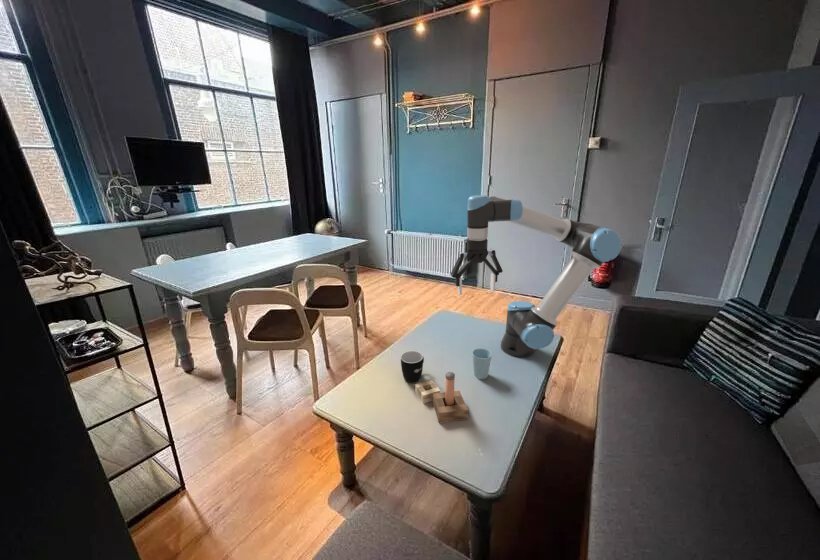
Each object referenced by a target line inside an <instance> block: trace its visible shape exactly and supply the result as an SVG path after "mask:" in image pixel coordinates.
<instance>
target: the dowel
mask: <svg viewBox="0 0 820 560" xmlns="http://www.w3.org/2000/svg"><path fill="white" fill-rule="evenodd" d="M455 375H456V374H455V373H454V372H453V371H448V372H446V373H445V391H444V392H445V406H453V405H454V391H455V382H456V381H455V378H456V376H455Z"/></svg>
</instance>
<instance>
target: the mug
mask: <svg viewBox="0 0 820 560" xmlns="http://www.w3.org/2000/svg"><path fill="white" fill-rule="evenodd" d="M424 361H425V358H424V355H423V353H421V352H420V351H417V350H410V351H405V352H403V353H401V355H400V366H401V372H402V377H403V379H404V381H406V382H407V383H410V384H414V383H417V382H419V381H420V379H421V378H422V374H423V366H424V363H425V362H424Z"/></svg>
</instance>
